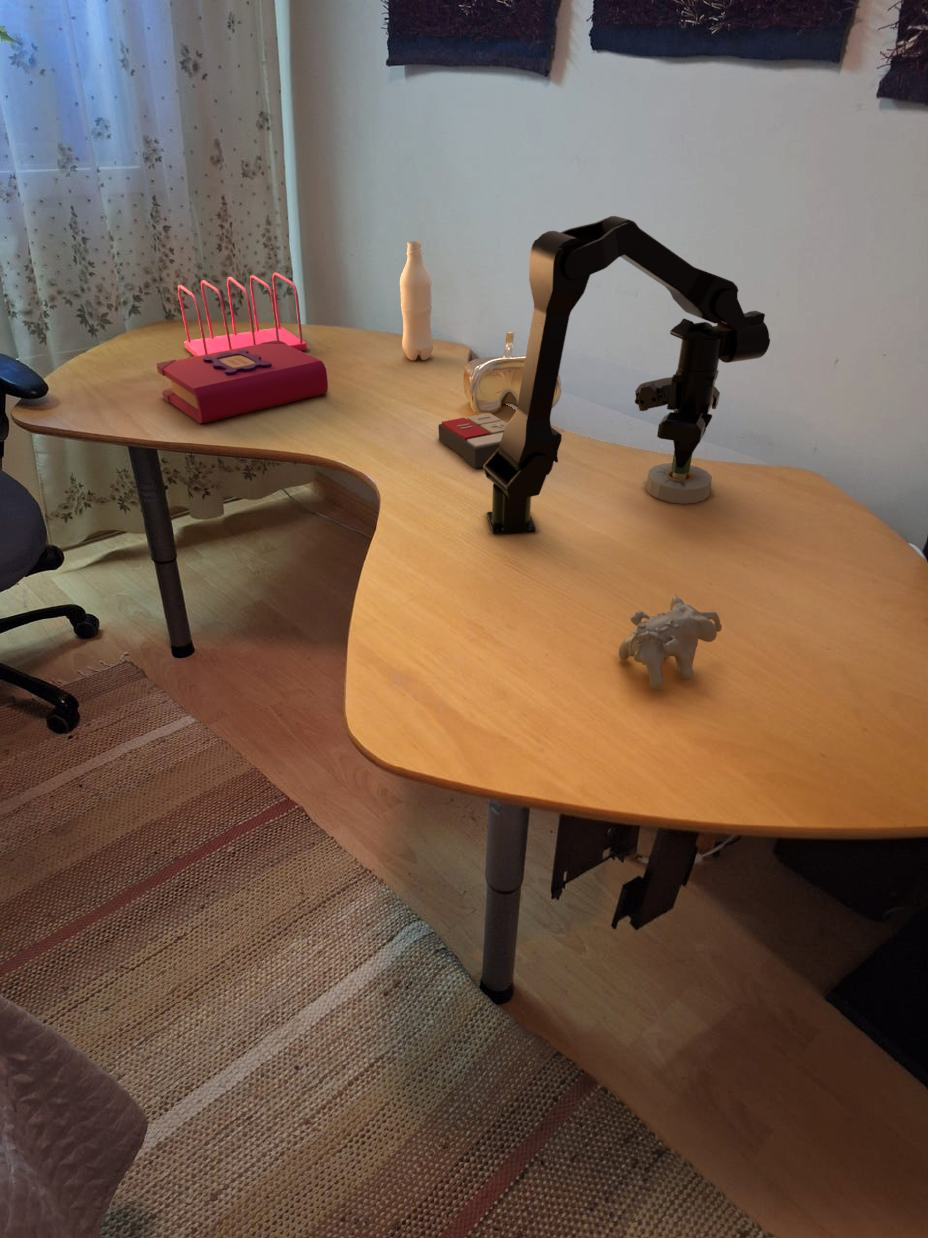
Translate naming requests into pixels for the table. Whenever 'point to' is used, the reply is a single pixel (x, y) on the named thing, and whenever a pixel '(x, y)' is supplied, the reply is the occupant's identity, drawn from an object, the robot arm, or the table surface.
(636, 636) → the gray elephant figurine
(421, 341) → the water bottle
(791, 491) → the table surface
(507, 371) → the diving goggles
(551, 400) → the robot arm
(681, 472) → the pencil
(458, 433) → the calculator
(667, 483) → the tape
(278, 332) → the file sorter
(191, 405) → the book
